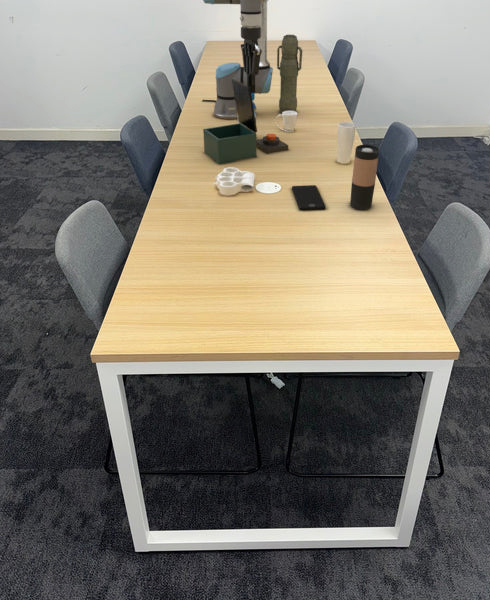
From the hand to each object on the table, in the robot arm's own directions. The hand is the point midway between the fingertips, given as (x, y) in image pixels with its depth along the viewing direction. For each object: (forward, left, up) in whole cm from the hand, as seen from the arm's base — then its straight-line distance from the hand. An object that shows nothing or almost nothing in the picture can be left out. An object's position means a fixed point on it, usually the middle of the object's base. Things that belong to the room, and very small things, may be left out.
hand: (251, 92), depth 215 cm
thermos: (-41, +41, -24) cm, 62 cm away
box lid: (0, -3, -5) cm, 6 cm away
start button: (0, +9, -20) cm, 22 cm away
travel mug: (+63, +9, -24) cm, 68 cm away
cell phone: (+50, -4, -24) cm, 56 cm away
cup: (-17, +26, -24) cm, 39 cm away
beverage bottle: (-15, +5, -24) cm, 28 cm away
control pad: (0, +9, -24) cm, 25 cm away
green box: (0, -10, -24) cm, 26 cm away
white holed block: (+28, -22, -24) cm, 43 cm away
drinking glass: (+27, +27, -24) cm, 45 cm away
